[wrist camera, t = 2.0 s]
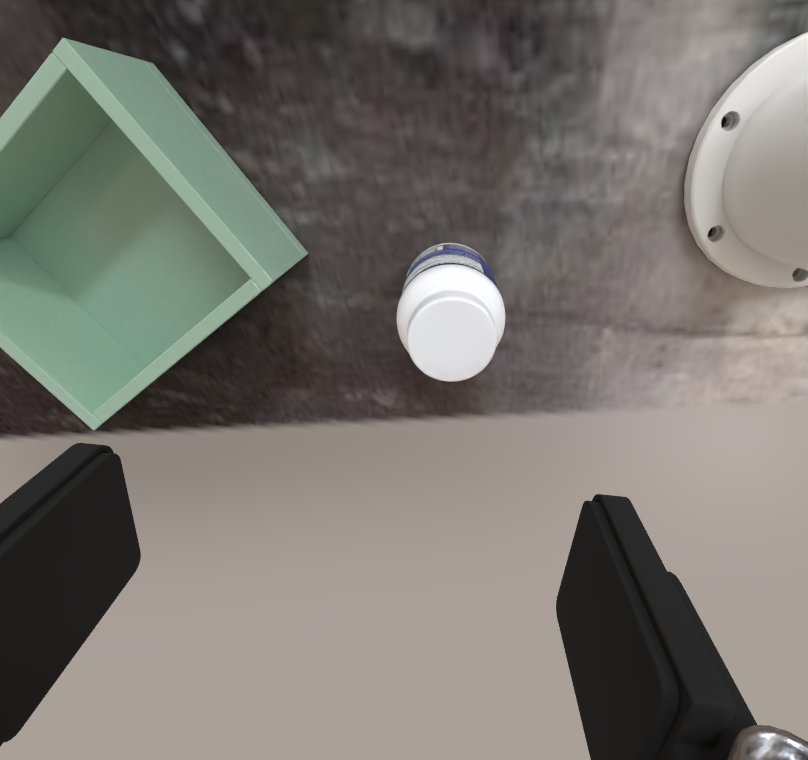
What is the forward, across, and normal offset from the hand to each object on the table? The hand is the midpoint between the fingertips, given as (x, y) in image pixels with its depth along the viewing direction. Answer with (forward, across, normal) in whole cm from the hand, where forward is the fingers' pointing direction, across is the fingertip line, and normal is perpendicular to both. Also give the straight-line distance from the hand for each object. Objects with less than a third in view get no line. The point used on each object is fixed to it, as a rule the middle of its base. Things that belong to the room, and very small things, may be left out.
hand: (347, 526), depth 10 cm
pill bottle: (+23, -2, +1) cm, 23 cm away
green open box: (+22, +16, 0) cm, 28 cm away
